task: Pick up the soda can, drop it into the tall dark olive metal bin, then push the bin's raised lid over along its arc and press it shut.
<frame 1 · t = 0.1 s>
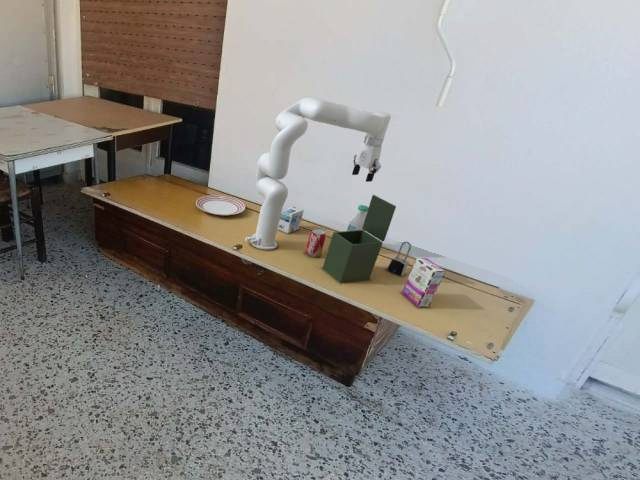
hand: (361, 178, 216), 31 cm above the table, tool pointing down, fingers open, 9 cm apart
bin lid: (378, 218, 188), point 26 cm above the table, hinge at 88.0°
padlock: (395, 272, 203), on the table
candy bar box: (414, 300, 184), on the table
milk bottle: (351, 245, 226), on the table
dinner plate: (219, 209, 258), on the table
soda can: (312, 254, 215), on the table
bin: (345, 273, 200), on the table
light bulb box: (288, 229, 238), on the table
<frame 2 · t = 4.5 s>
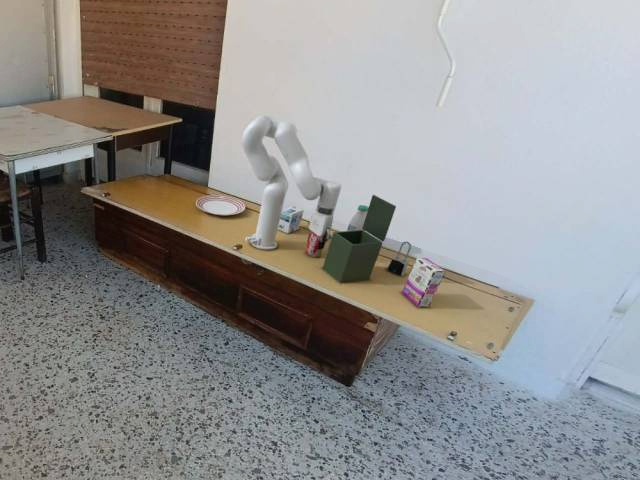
hand: (315, 245, 212), 5 cm above the table, tool pointing down, fingers closed on soda can, 7 cm apart
soda can: (312, 254, 215), on the table, touching gripper
everything else where it was.
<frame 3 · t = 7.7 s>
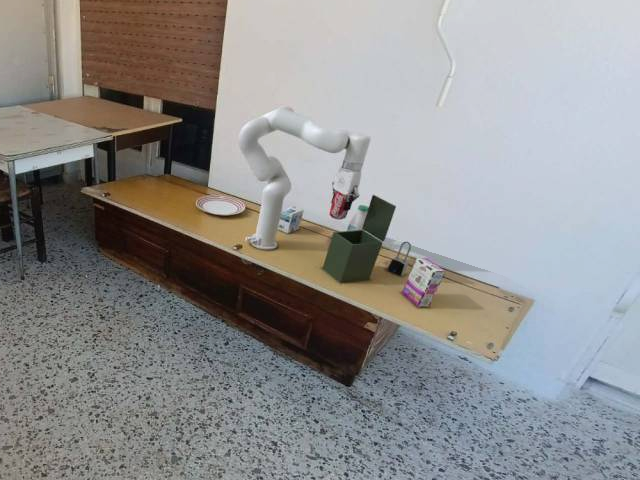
hand: (340, 206, 195), 27 cm above the table, tool pointing down, fingers closed on soda can, 7 cm apart
soda can: (336, 217, 198), point 22 cm above the table, touching gripper
everything else where it was.
when the fingers open (21 cm above the table, at t = 10.8 s): soda can drops 14 cm, resting on bin.
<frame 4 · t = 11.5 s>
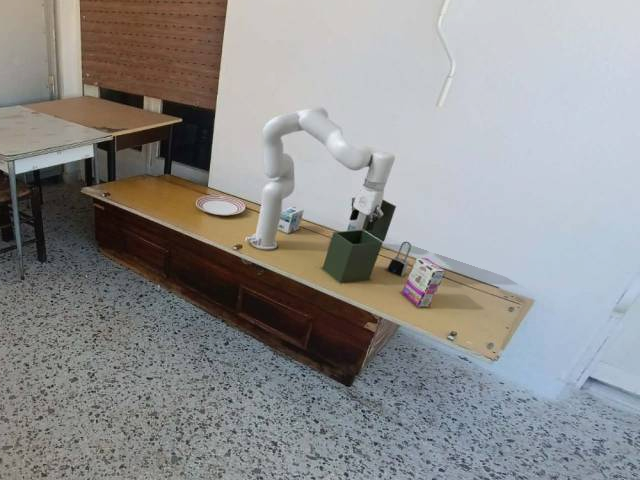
hand: (360, 224, 188), 24 cm above the table, tool pointing down, fingers open, 9 cm apart
soda can: (341, 270, 200), point 1 cm above the table, touching bin
everything else where it was.
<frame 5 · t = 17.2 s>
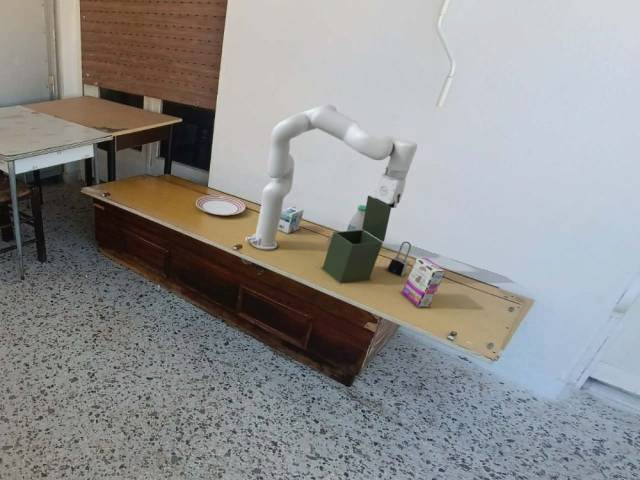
hand: (380, 216, 188), 26 cm above the table, tool pointing down, fingers closed
bin lid: (376, 218, 188), point 26 cm above the table, hinge at 79.7°, touching gripper
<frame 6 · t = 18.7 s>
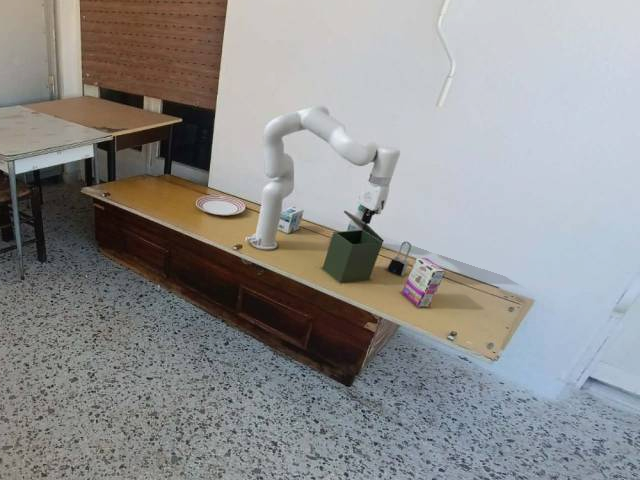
hand: (365, 223, 187), 24 cm above the table, tool pointing down, fingers closed
bin lid: (363, 226, 188), point 23 cm above the table, hinge at 35.7°, touching gripper
everything else where it was.
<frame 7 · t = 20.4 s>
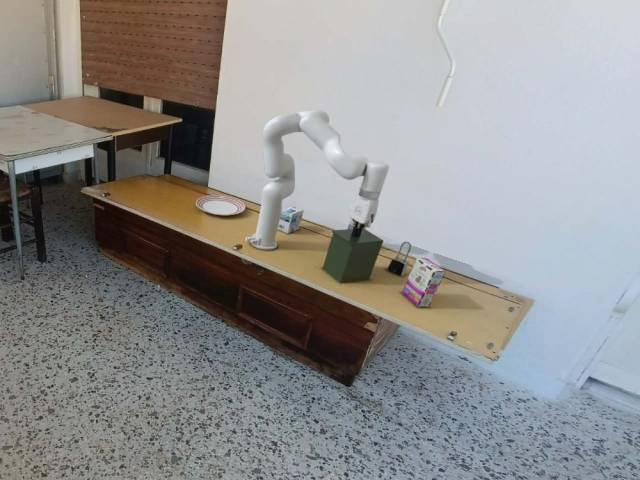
hand: (355, 235, 190), 19 cm above the table, tool pointing down, fingers closed
bin lid: (357, 236, 190), point 18 cm above the table, hinge at -0.2°, touching bin, gripper
everything else where it was.
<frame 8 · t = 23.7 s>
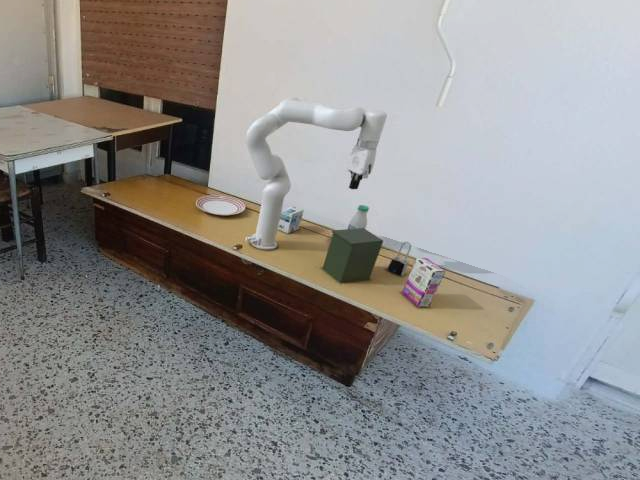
hand: (353, 188, 190), 35 cm above the table, tool pointing down, fingers closed
bin lid: (357, 236, 190), point 18 cm above the table, hinge at -0.2°, touching bin
everything else where it was.
at the end: soda can inside the target area in the bin (1.8 cm from its centre), point 0.6 cm above the bin's base; bin lid at +0° (first picture: +88°) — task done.
